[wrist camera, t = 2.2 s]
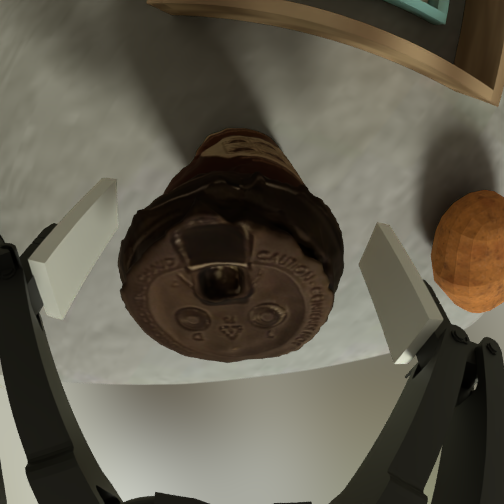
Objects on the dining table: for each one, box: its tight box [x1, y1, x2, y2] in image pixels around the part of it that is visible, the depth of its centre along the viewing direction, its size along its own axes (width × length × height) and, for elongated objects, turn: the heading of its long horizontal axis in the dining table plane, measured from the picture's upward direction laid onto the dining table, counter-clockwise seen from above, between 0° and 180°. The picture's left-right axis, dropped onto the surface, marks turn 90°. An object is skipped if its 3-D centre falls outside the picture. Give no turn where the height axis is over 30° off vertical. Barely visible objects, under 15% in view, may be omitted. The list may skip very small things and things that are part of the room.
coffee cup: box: [118, 128, 344, 363], centre depth 15 cm, size 9×8×13 cm
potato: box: [431, 190, 504, 313], centre depth 20 cm, size 9×11×8 cm
